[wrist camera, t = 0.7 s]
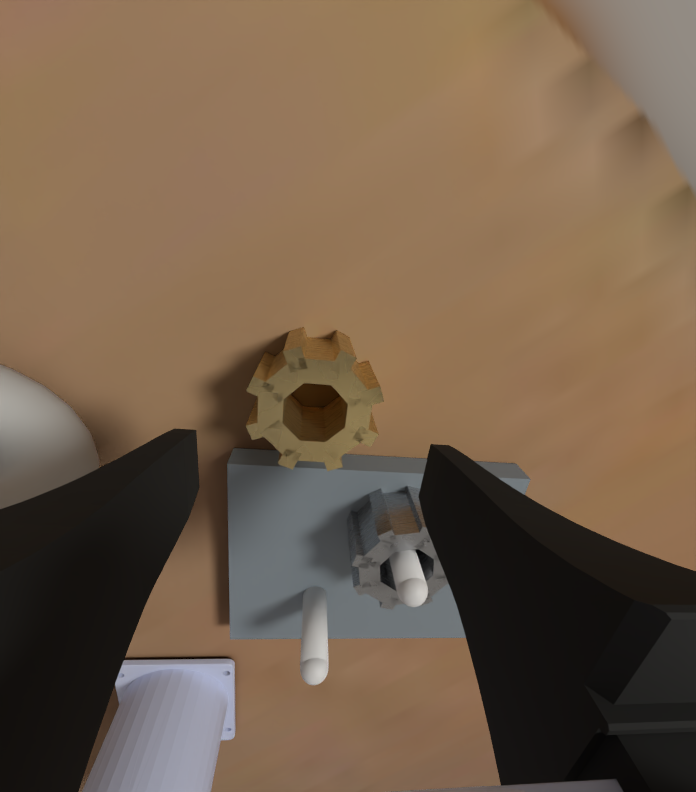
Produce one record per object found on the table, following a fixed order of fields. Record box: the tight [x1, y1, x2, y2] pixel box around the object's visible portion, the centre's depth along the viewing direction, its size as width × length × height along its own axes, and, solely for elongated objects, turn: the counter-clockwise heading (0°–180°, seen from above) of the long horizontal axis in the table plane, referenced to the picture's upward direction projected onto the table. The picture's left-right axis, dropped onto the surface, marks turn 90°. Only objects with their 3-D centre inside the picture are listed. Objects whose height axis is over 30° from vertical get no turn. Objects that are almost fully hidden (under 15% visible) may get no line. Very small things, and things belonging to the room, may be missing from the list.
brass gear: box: [246, 327, 384, 471], centre depth 16 cm, size 6×6×4 cm
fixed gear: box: [347, 486, 449, 610], centre depth 18 cm, size 5×5×3 cm
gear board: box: [227, 448, 530, 685], centre depth 19 cm, size 13×16×6 cm
